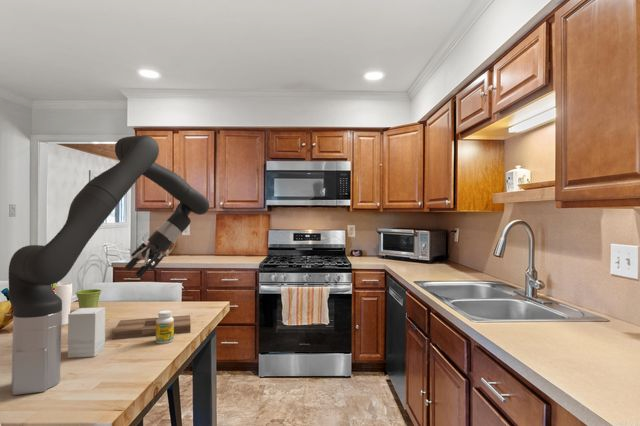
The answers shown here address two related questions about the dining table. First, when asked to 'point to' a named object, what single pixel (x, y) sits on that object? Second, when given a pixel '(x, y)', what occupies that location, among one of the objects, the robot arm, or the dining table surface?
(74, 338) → the supplement box
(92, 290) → the plant pot
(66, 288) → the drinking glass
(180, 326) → the walnut board
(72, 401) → the dining table surface
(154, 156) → the robot arm
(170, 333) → the supplement bottle
